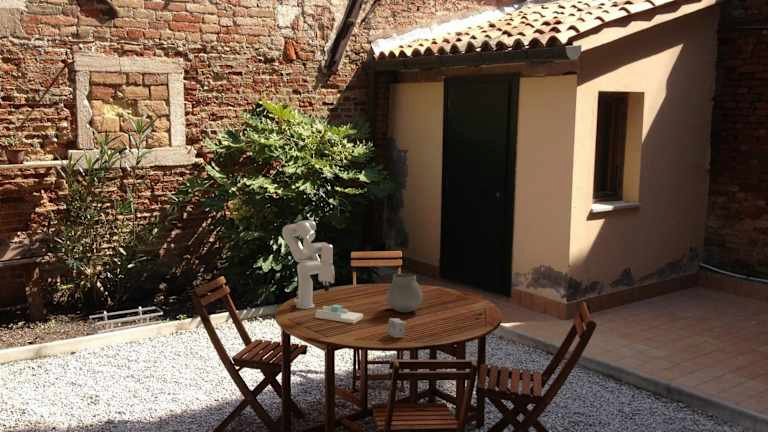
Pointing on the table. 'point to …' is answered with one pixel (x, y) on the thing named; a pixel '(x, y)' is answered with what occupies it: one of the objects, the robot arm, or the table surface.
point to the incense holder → (396, 328)
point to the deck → (338, 315)
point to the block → (336, 308)
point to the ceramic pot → (404, 293)
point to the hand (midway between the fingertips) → (326, 290)
